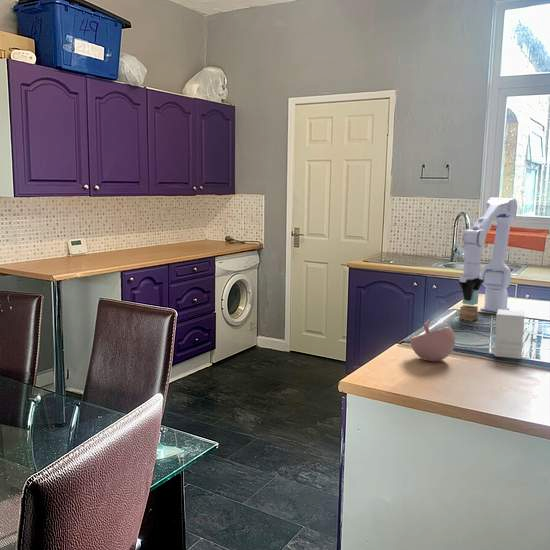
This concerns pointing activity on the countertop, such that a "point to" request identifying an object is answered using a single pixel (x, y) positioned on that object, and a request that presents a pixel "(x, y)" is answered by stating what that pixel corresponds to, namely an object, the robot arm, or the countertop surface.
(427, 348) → the pink apple
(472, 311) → the tower top
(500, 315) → the supplement box
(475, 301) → the teal block
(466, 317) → the tower base
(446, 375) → the countertop surface
